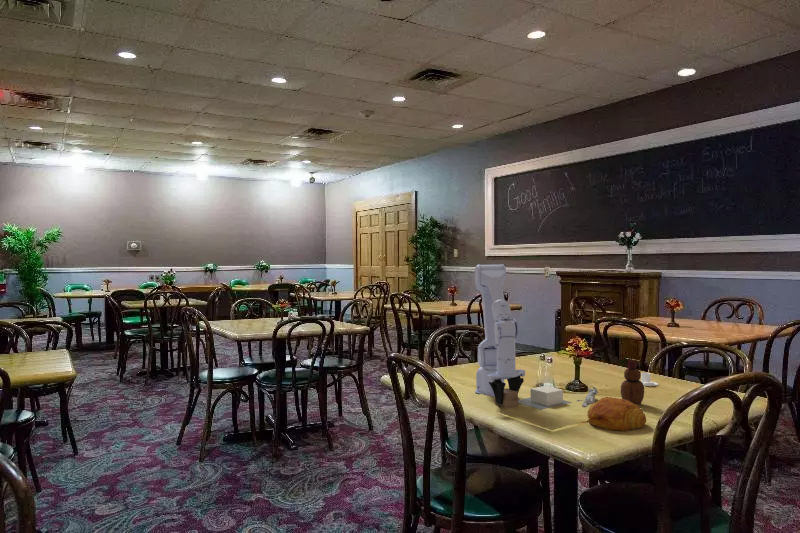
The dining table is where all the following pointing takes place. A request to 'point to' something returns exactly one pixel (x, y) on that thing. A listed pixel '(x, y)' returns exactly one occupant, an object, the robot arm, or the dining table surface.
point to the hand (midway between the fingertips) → (506, 402)
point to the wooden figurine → (632, 384)
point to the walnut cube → (509, 398)
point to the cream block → (546, 395)
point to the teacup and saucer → (647, 380)
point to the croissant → (616, 414)
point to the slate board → (539, 406)
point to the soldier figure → (589, 397)
